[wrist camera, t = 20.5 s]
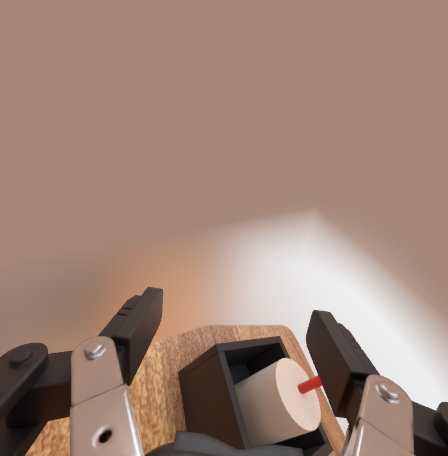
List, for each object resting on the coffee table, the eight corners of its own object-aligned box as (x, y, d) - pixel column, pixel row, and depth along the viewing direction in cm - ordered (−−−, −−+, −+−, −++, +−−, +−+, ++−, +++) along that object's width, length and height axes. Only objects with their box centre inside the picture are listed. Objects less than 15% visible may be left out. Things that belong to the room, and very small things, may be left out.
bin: (177, 372, 26) (215, 343, 22) (243, 358, 33) (279, 335, 30) (202, 525, 18) (264, 518, 15) (280, 464, 26) (333, 450, 22)
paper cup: (207, 396, 25) (317, 333, 18) (241, 384, 29) (342, 328, 22) (224, 466, 22) (369, 421, 14) (260, 442, 25) (389, 397, 18)
